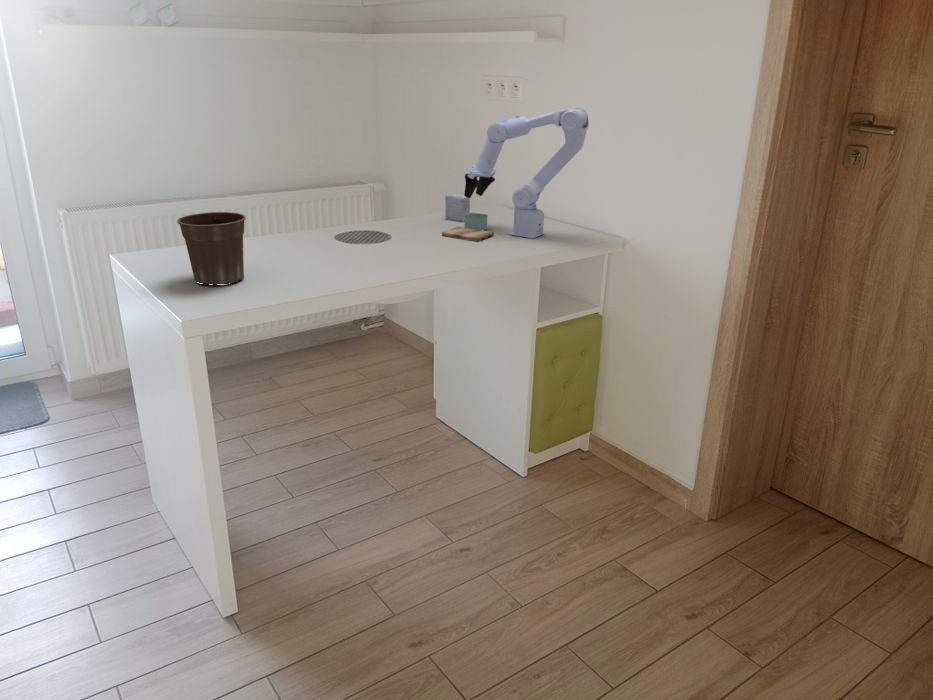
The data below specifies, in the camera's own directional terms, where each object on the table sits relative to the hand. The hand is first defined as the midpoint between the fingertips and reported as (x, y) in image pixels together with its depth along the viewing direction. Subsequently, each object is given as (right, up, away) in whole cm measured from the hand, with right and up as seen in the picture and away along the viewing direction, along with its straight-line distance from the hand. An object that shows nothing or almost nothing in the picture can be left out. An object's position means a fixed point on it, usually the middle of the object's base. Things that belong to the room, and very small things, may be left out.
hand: (472, 195), depth 239 cm
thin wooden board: (-2, -15, -6) cm, 16 cm away
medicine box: (-5, -5, +16) cm, 18 cm away
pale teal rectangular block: (+1, -11, +3) cm, 11 cm away
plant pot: (-66, -34, -56) cm, 93 cm away
